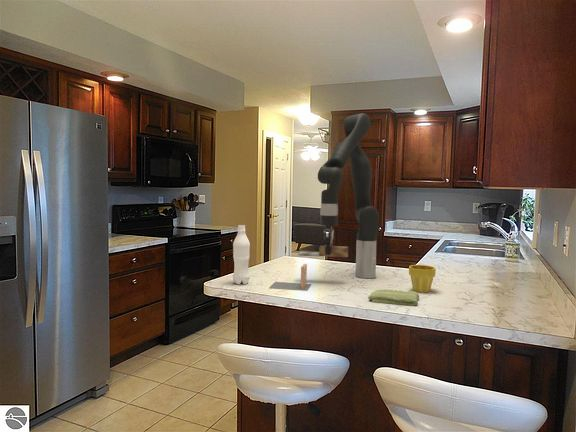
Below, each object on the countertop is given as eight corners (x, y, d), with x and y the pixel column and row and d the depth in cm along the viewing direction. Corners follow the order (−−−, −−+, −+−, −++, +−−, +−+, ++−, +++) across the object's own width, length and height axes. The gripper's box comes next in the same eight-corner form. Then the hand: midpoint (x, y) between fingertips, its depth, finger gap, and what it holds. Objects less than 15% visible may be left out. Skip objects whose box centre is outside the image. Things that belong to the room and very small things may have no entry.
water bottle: (252, 282, 183) (253, 225, 181) (244, 285, 177) (244, 226, 175) (238, 280, 186) (238, 224, 184) (229, 284, 180) (229, 225, 178)
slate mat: (311, 285, 179) (311, 284, 179) (307, 292, 168) (307, 290, 168) (275, 283, 183) (275, 281, 182) (268, 289, 171) (268, 288, 171)
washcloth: (372, 294, 168) (372, 286, 167) (419, 299, 162) (419, 290, 161) (367, 303, 155) (367, 294, 155) (417, 308, 149) (417, 299, 149)
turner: (348, 255, 183) (348, 246, 183) (347, 257, 177) (347, 248, 177) (300, 253, 187) (300, 244, 187) (298, 255, 181) (298, 246, 181)
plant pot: (421, 294, 166) (422, 270, 166) (402, 288, 176) (403, 265, 175) (440, 292, 171) (441, 268, 171) (421, 286, 180) (422, 263, 180)
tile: (306, 285, 177) (306, 263, 177) (303, 289, 170) (304, 267, 170) (303, 284, 178) (303, 263, 177) (300, 288, 171) (301, 266, 170)
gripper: (336, 215, 173) (335, 257, 174) (339, 213, 187) (338, 251, 188) (318, 215, 174) (317, 256, 176) (322, 212, 188) (321, 251, 189)
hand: (328, 253), depth 182 cm, fingers closed on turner, 4 cm apart
